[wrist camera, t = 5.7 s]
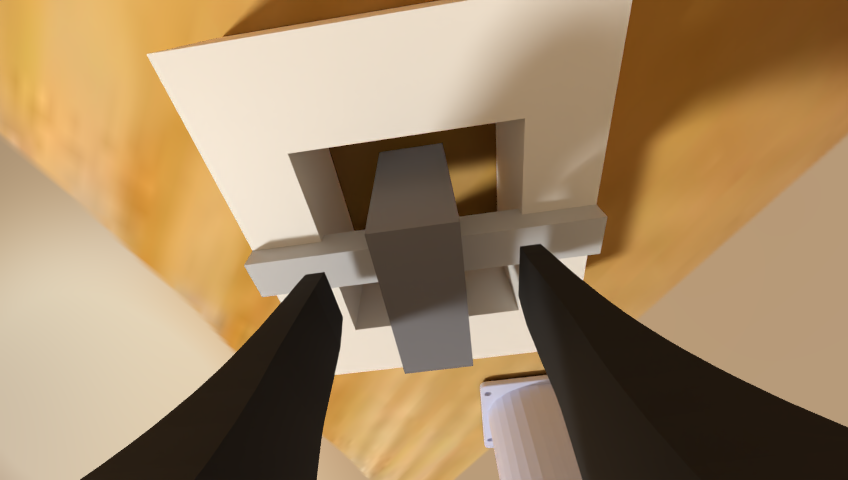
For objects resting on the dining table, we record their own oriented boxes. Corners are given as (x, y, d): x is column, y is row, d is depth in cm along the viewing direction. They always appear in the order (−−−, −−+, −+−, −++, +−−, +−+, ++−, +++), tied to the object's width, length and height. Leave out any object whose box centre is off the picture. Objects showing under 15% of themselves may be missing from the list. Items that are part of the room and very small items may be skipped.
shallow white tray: (542, 285, 20) (578, 362, 15) (335, 311, 20) (317, 392, 16) (568, -22, 11) (657, -31, 7) (221, 37, 12) (125, 59, 8)
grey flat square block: (455, 264, 16) (473, 365, 12) (406, 271, 17) (404, 373, 12) (442, 143, 13) (460, 221, 8) (379, 152, 13) (364, 234, 9)
